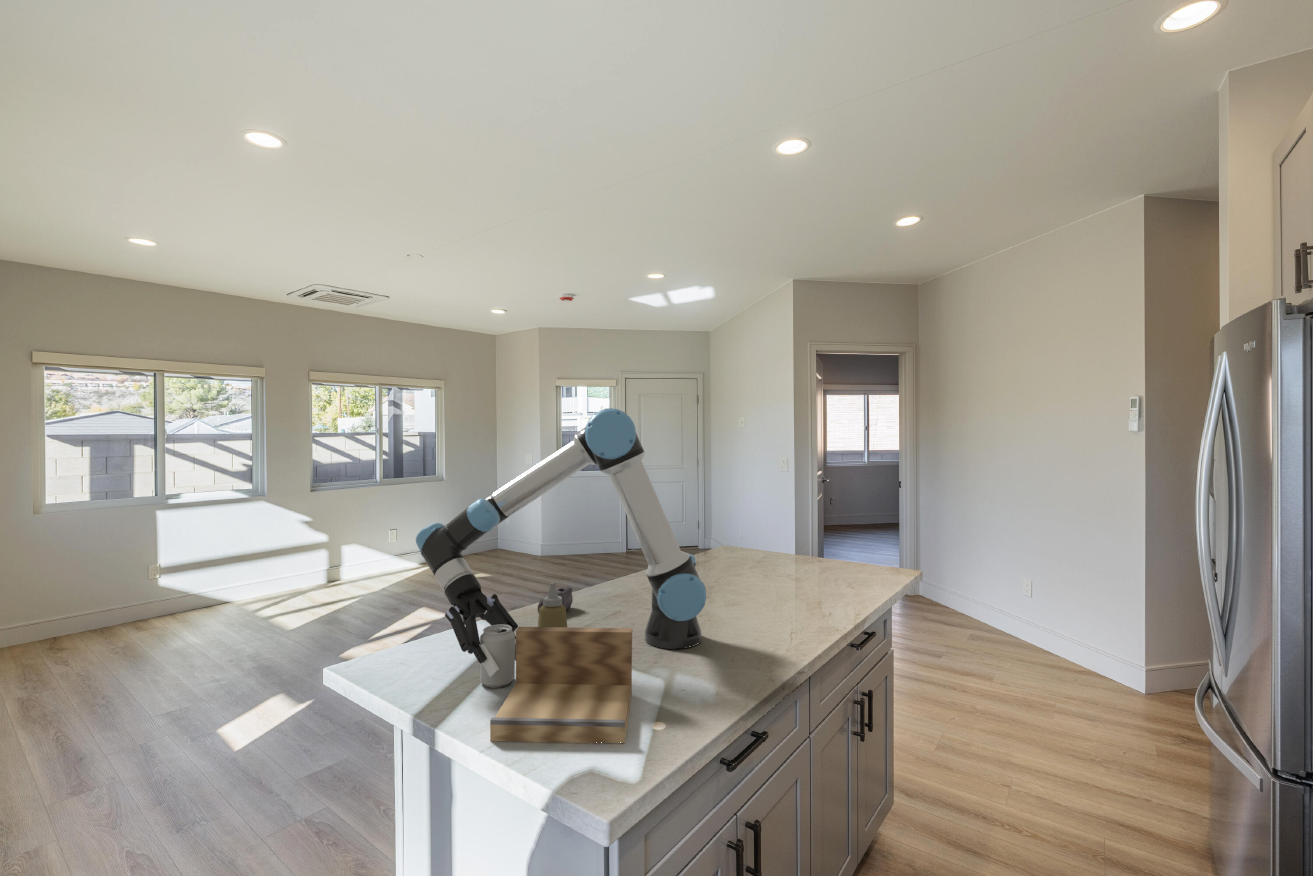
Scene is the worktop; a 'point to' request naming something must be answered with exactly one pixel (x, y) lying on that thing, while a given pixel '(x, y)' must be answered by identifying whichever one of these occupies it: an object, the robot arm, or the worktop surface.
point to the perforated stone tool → (566, 597)
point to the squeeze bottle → (552, 610)
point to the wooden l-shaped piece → (568, 687)
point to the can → (499, 655)
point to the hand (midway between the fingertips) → (508, 666)
